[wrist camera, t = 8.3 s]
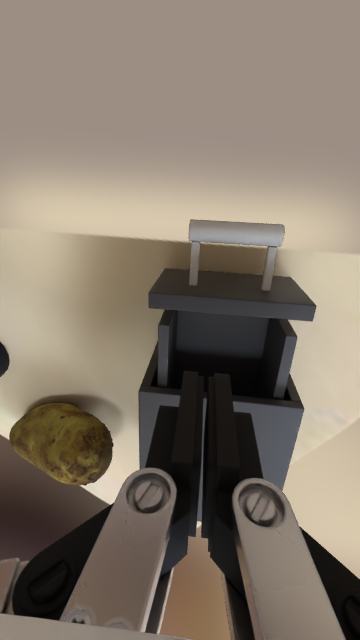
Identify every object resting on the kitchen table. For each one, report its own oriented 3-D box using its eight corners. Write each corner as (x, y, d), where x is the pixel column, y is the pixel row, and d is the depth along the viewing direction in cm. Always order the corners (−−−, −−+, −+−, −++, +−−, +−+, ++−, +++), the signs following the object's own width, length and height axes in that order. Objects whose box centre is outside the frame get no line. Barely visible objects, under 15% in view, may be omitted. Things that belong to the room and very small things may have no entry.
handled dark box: (165, 213, 25) (148, 220, 19) (302, 220, 24) (335, 231, 18) (161, 388, 33) (148, 438, 26) (266, 399, 32) (280, 454, 25)
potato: (24, 377, 35) (-25, 426, 28) (128, 403, 35) (106, 459, 28) (25, 428, 39) (-20, 483, 31) (119, 452, 38) (97, 513, 31)
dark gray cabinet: (158, 338, 31) (138, 391, 23) (280, 349, 30) (304, 408, 22) (156, 441, 37) (140, 513, 29) (258, 453, 36) (271, 531, 28)
